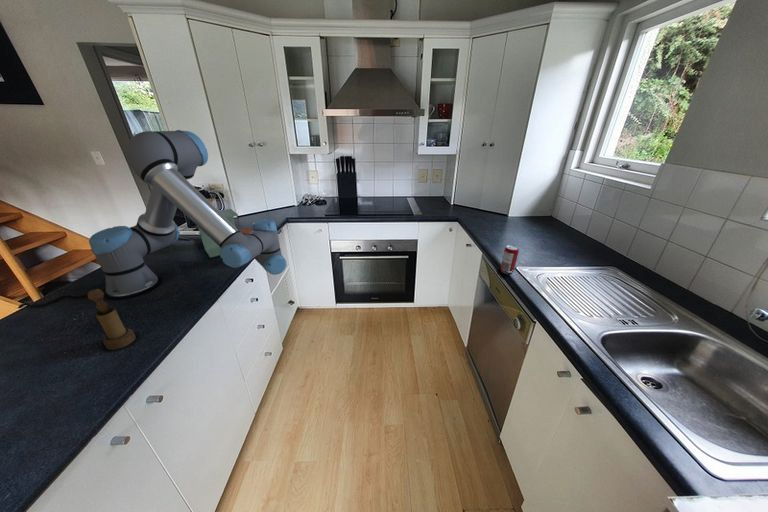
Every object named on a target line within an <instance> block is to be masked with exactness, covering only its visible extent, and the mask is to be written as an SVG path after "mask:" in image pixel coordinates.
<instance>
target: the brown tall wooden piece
mask: <svg viewBox="0 0 768 512" xmlns="http://www.w3.org/2000/svg"><path fill="white" fill-rule="evenodd" d="M87 292H88V294H87V295H86V296H87V298H88V300H90V301H92V302H95V308H96V309H97V310H98V311H96V312H95V317H96V319H97V320H98V322H99V324H100V325H101V327H102V329H103V331H104V333H105V335H106V336H105V337H104V339H103V340H102V341H103V344H104V346H105V349H107V350H109V351H110V350H111V351H115V350H120V349H122V348H126V347H127V346H129V345H131V344H132V343H133V342H134V341H136V338H137V336H136V334H135V333H134V330H133V329H131V328H125V325H124V324H123V322H122V319H121V317H120V315H119V314H118V312H117V310H116V307H113V306H109V305H108V302H107V301H104V296H105V293H104V291H103V290H99V288H93V289H91V290H90V291H87ZM108 306H109V307H108Z"/></svg>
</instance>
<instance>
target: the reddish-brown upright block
mask: <svg viewBox="0 0 768 512" xmlns="http://www.w3.org/2000/svg"><path fill="white" fill-rule="evenodd" d="M238 230H239V231H240V232H241V233H242V234H243V235H244V236H245V235H247V234H249V233H251V232H253V227H244V228H241V229H238Z"/></svg>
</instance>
